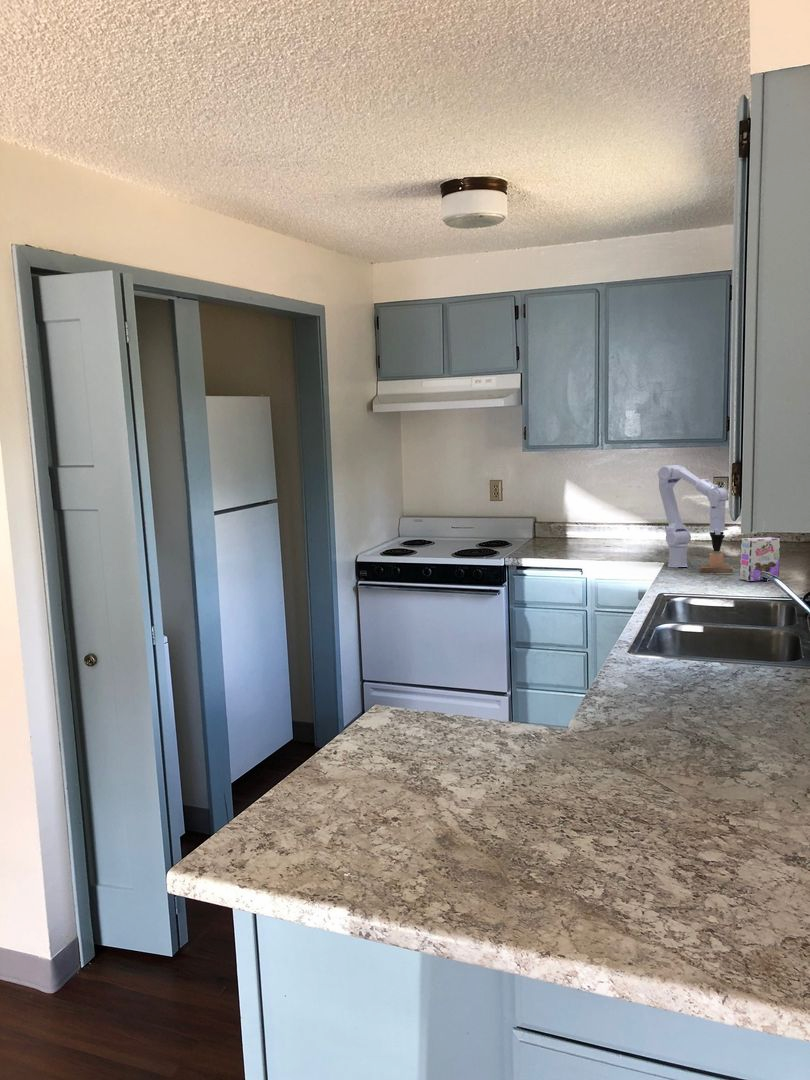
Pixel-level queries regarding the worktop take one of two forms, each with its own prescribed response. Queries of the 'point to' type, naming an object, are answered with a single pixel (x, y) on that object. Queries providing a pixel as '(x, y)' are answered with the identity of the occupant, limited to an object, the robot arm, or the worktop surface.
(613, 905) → the worktop surface
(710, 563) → the terracotta cube
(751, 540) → the candy box
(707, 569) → the walnut block
